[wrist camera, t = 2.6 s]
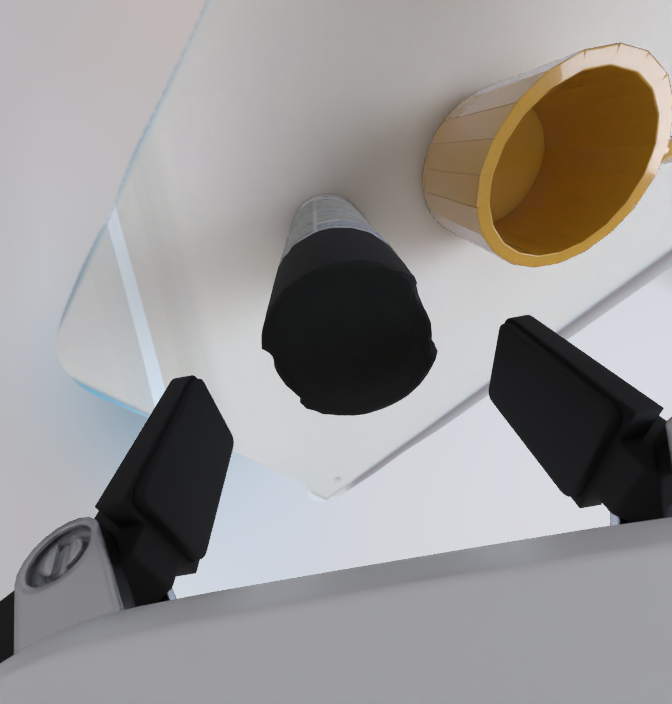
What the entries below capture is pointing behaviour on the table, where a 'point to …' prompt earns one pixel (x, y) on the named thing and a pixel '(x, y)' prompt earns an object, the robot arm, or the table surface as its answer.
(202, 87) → the table surface
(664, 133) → the mug
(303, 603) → the robot arm
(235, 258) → the table surface
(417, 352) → the spray can
